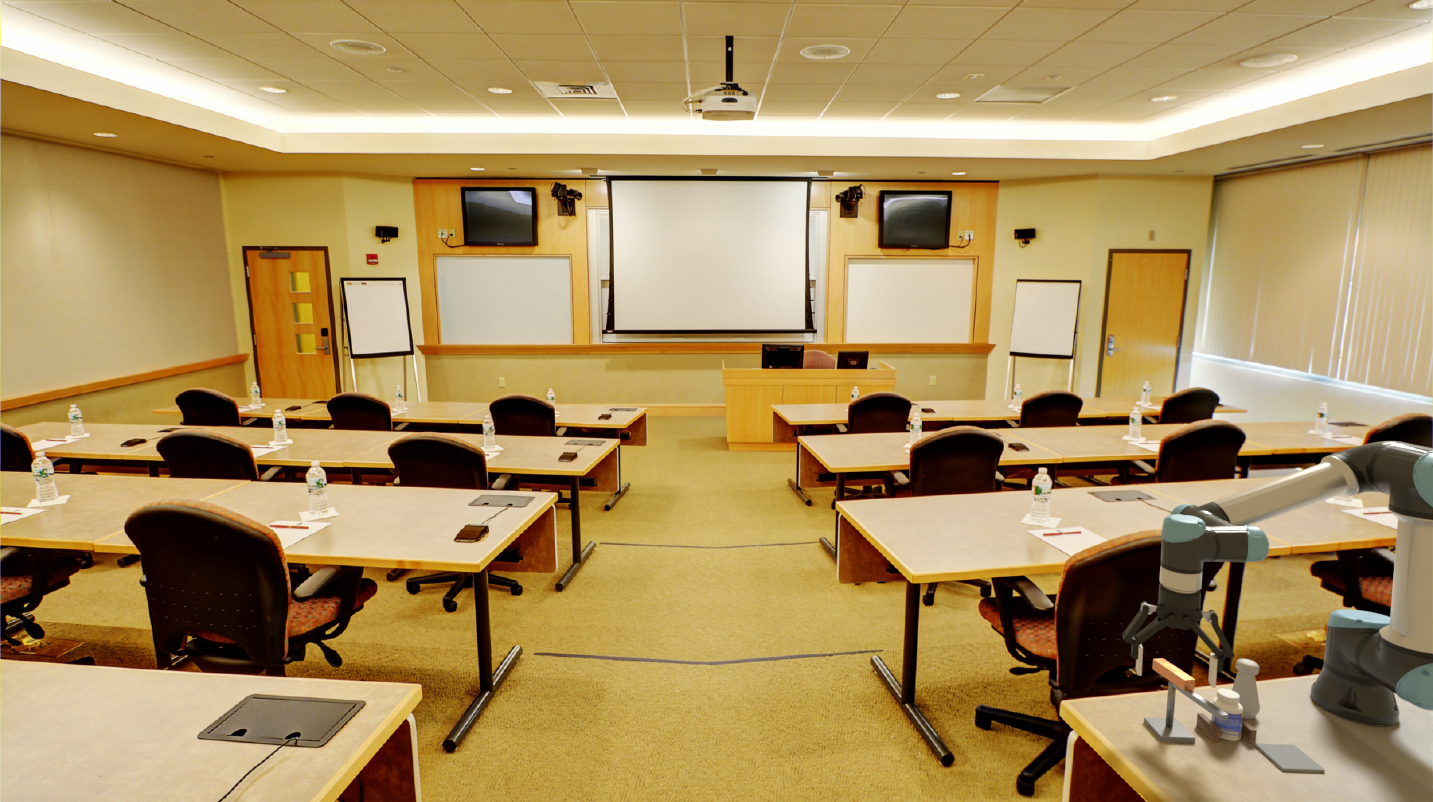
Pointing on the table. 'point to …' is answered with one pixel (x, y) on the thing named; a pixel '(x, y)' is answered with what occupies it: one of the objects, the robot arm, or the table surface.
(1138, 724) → the table surface
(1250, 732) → the cradle
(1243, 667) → the salt shaker
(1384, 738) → the table surface
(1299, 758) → the pad
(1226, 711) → the pill bottle
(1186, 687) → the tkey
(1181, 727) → the grey stand base plate
